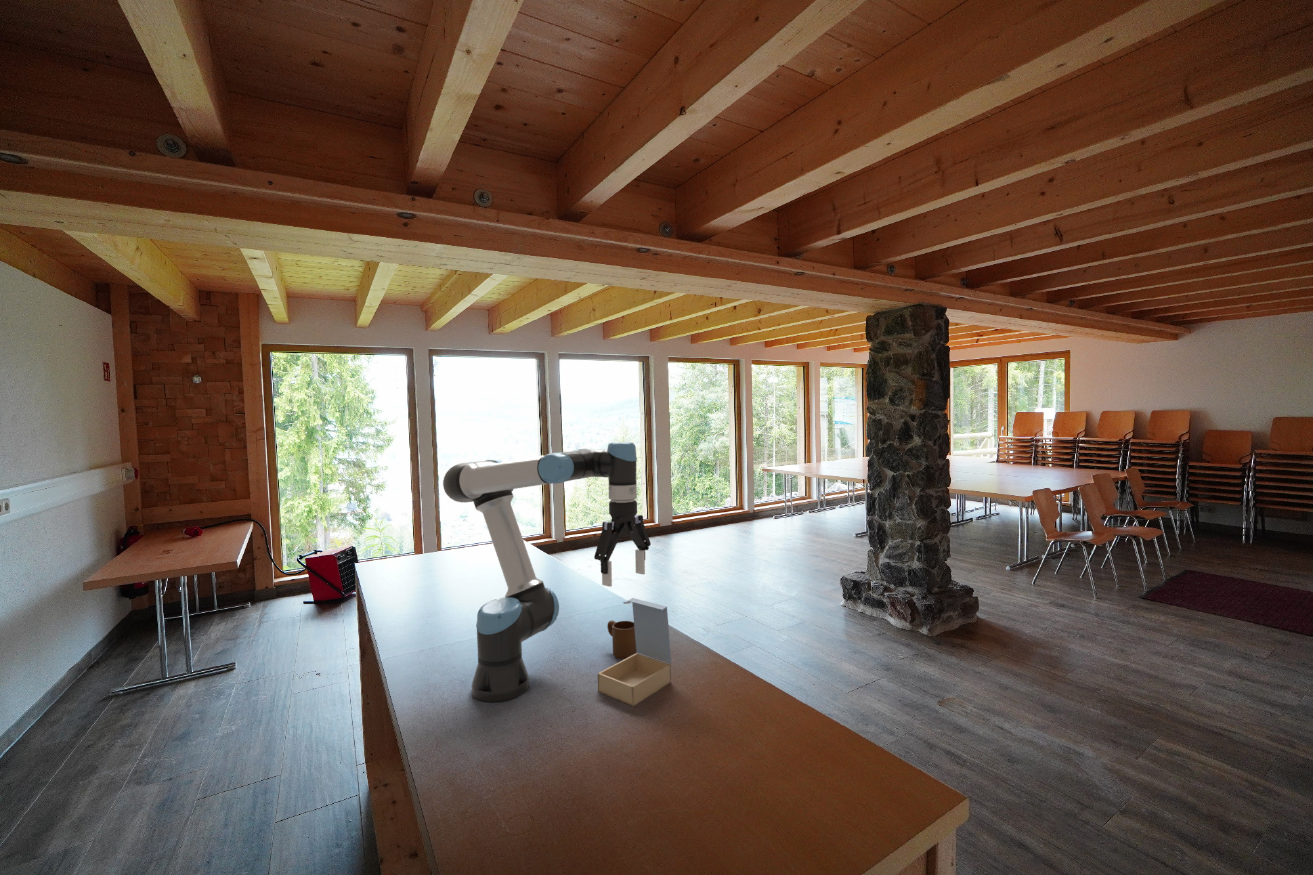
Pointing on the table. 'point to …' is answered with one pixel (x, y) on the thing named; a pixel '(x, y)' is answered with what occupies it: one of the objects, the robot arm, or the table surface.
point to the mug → (622, 638)
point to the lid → (651, 630)
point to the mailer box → (634, 679)
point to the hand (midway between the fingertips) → (624, 579)
